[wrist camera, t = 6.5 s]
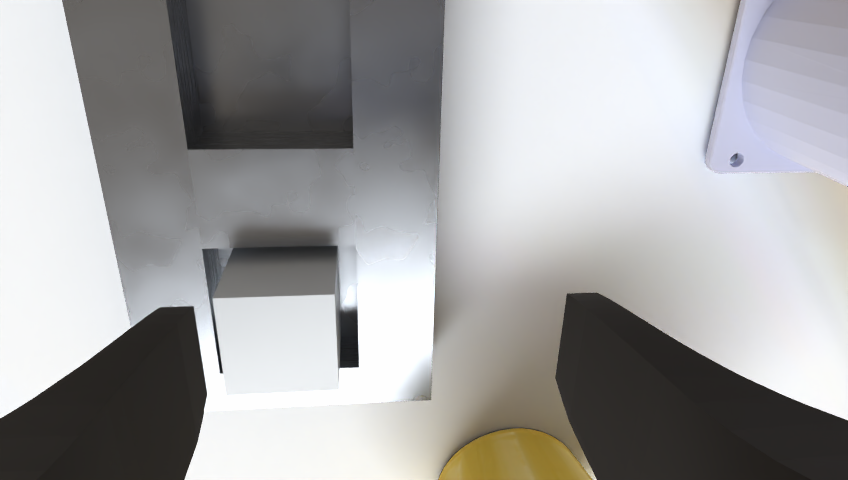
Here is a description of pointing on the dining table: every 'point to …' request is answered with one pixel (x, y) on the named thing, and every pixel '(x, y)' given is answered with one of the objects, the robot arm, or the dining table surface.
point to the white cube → (279, 320)
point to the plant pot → (514, 458)
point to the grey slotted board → (273, 163)
